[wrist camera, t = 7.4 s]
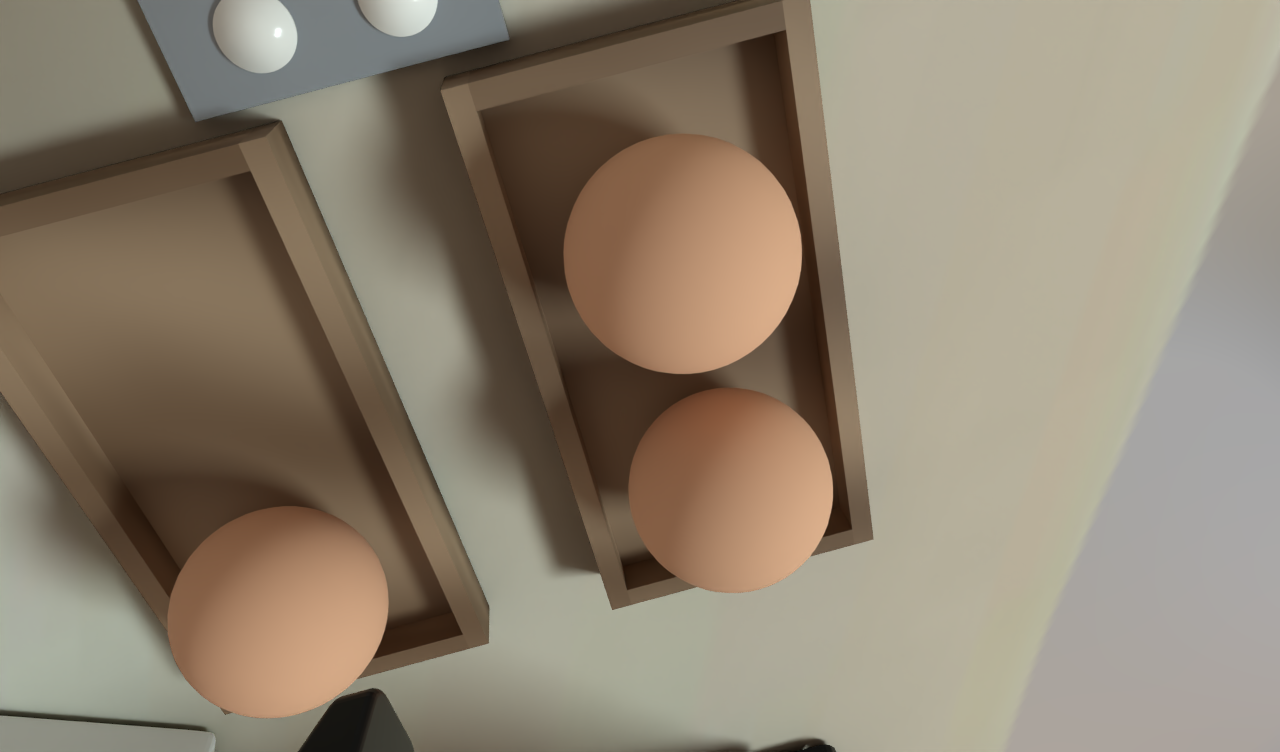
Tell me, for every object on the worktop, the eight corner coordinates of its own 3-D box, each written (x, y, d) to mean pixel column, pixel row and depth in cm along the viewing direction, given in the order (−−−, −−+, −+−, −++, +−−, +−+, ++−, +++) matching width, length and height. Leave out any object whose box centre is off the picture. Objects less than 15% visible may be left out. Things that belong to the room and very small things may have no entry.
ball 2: (776, 285, 19) (850, 378, 16) (584, 339, 19) (612, 446, 15) (744, 85, 17) (821, 136, 13) (527, 144, 17) (543, 213, 13)
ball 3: (808, 482, 22) (872, 605, 18) (640, 528, 22) (668, 660, 18) (784, 331, 20) (851, 434, 16) (597, 381, 20) (620, 497, 16)
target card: (509, 37, 17) (509, 39, 16) (200, 118, 17) (193, 123, 16) (469, -104, 15) (468, -105, 15) (136, -18, 15) (128, -16, 15)
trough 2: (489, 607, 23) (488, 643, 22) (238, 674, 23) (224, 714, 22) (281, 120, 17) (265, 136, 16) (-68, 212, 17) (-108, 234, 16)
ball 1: (424, 586, 22) (408, 731, 18) (253, 632, 22) (201, 787, 18) (357, 445, 20) (323, 576, 16) (168, 495, 20) (88, 640, 16)
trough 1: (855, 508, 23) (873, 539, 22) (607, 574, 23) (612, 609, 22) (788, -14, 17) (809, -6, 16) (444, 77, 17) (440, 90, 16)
